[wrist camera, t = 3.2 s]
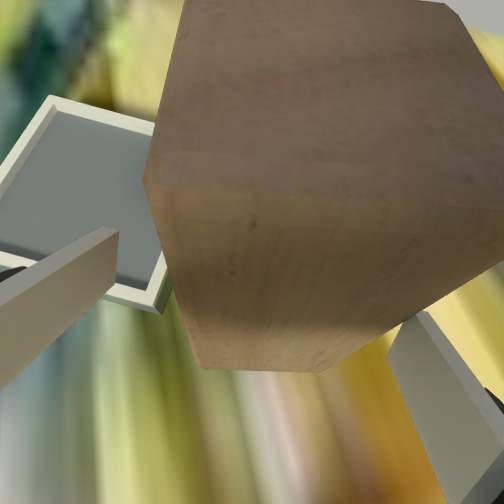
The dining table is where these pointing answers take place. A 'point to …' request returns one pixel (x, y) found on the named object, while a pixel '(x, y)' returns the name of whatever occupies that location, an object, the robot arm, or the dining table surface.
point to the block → (321, 174)
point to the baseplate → (83, 196)
